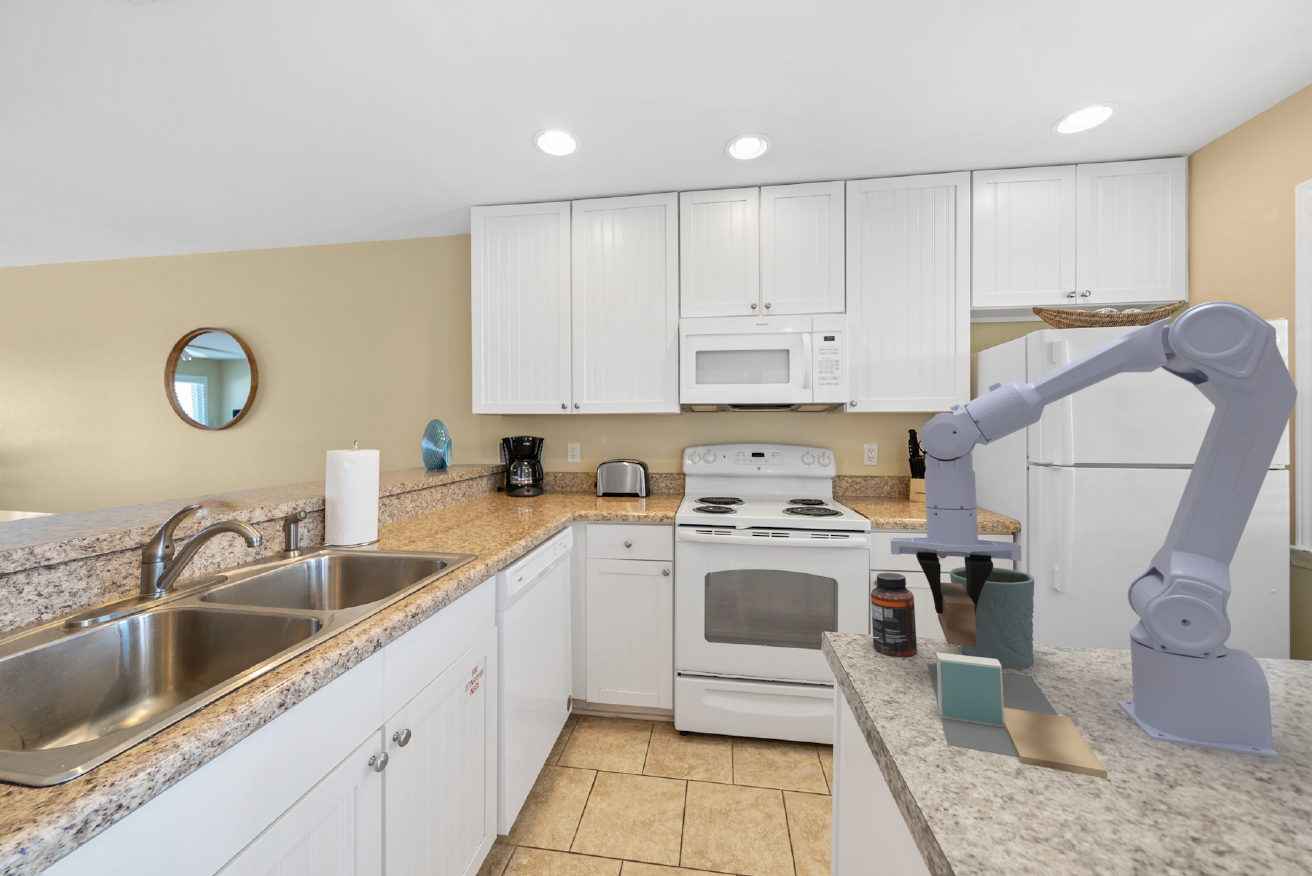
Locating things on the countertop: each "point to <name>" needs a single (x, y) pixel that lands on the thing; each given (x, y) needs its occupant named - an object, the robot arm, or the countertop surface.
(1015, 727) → the trivet
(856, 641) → the countertop surface
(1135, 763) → the countertop surface
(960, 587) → the brown rectangular block
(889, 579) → the supplement bottle
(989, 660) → the tile
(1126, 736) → the countertop surface
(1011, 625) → the teal textured planter
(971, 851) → the countertop surface
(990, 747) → the mat
